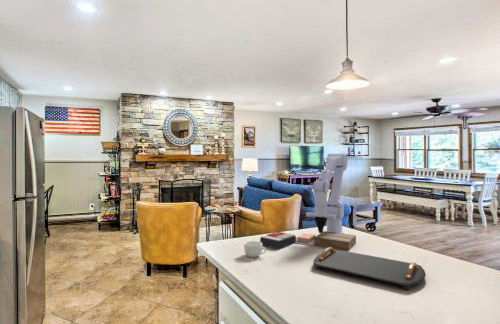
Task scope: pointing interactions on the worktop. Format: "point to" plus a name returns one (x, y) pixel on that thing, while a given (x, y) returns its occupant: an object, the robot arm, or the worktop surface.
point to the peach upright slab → (306, 238)
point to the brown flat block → (335, 240)
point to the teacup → (253, 248)
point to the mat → (304, 242)
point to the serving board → (371, 267)
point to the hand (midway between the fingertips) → (320, 232)
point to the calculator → (277, 240)
